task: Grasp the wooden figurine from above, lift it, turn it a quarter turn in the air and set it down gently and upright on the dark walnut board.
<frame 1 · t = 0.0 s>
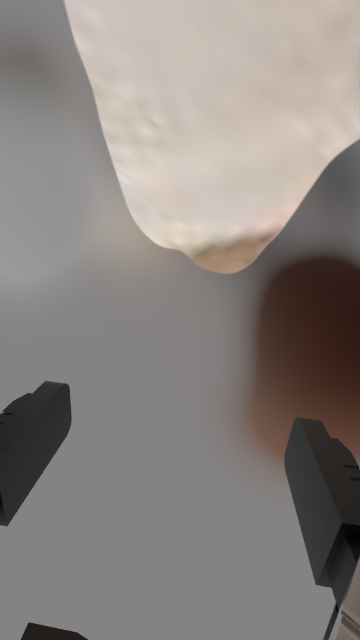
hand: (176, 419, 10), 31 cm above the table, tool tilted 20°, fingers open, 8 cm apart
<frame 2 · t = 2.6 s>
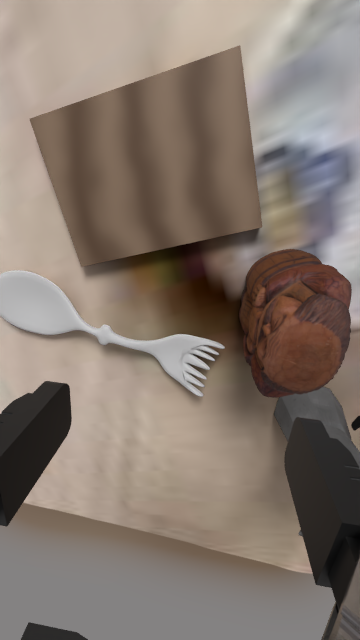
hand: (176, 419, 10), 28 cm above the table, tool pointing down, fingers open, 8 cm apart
coffeepot: (311, 403, 42), on the table
walnut board: (152, 175, 33), on the table
wooden figurine: (267, 290, 37), on the table
spoon: (109, 324, 42), on the table
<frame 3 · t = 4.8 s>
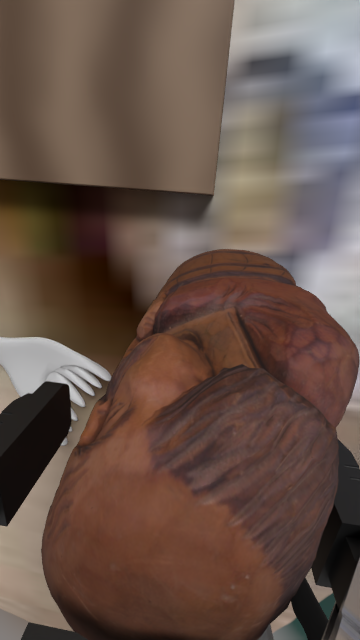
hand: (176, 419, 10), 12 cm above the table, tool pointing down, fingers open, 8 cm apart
coffeepot: (224, 489, 28), on the table
walnut board: (40, 32, 17), on the table
wooden figurine: (201, 310, 22), on the table, touching gripper
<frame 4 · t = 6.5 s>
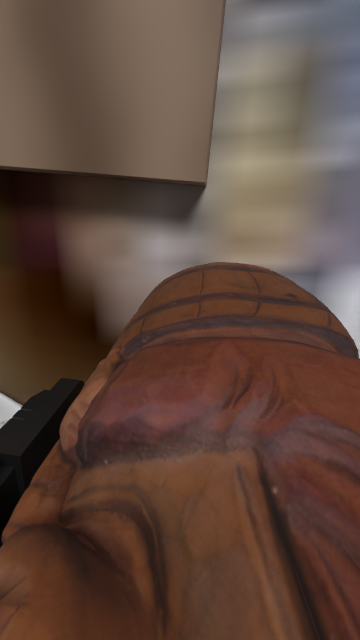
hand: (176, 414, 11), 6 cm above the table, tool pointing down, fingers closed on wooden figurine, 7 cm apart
wooden figurine: (189, 343, 16), on the table, touching gripper
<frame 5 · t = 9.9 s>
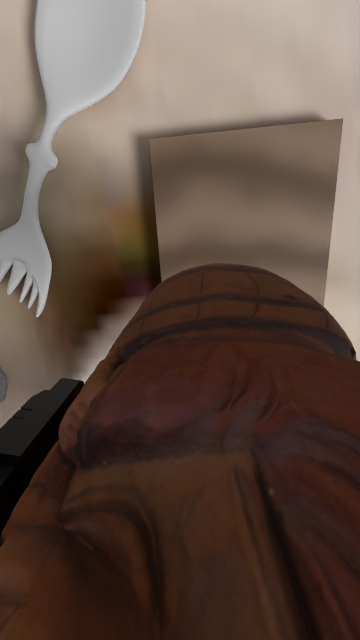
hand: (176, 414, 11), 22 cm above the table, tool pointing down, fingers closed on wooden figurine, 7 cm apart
walnut board: (239, 258, 30), on the table
wooden figurine: (189, 343, 16), point 16 cm above the table, touching gripper
spoon: (60, 156, 29), on the table
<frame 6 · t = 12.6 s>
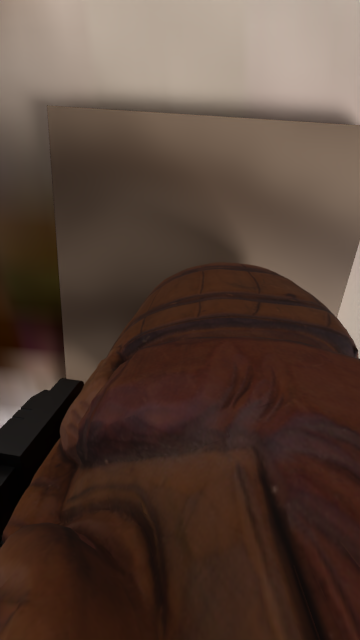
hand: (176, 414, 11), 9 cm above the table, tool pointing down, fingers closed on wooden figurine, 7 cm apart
walnut board: (192, 321, 19), on the table
wooden figurine: (189, 343, 16), point 3 cm above the table, touching gripper
when the fingers open (9 cm above the table, at t = 13.7 s): wooden figurine drops 1 cm, resting on walnut board.
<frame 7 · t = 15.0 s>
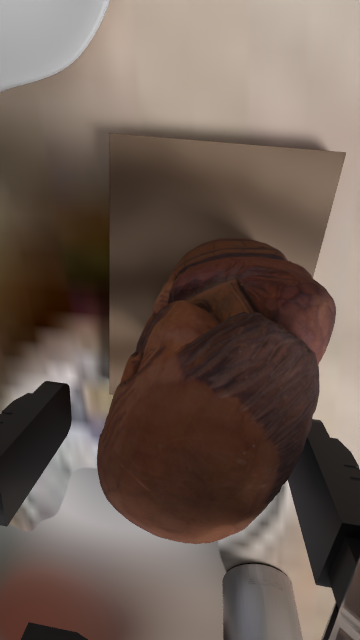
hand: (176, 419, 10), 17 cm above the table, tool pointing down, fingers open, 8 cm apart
walnut board: (205, 290, 26), on the table
wooden figurine: (205, 296, 24), point 2 cm above the table, touching walnut board
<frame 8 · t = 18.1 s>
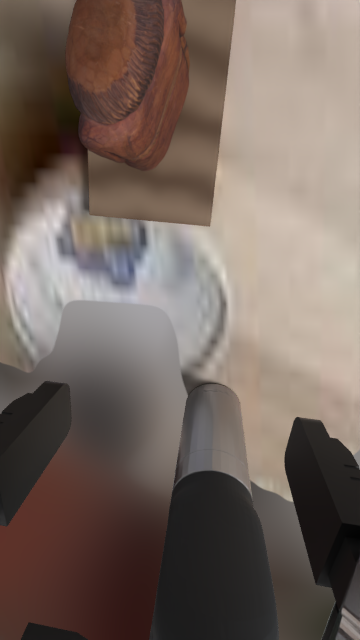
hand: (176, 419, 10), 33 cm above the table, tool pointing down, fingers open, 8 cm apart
walnut board: (156, 126, 36), on the table
wooden figurine: (154, 121, 34), point 2 cm above the table, touching walnut board
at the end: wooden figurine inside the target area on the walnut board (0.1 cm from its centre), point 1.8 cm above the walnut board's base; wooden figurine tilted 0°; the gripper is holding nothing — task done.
